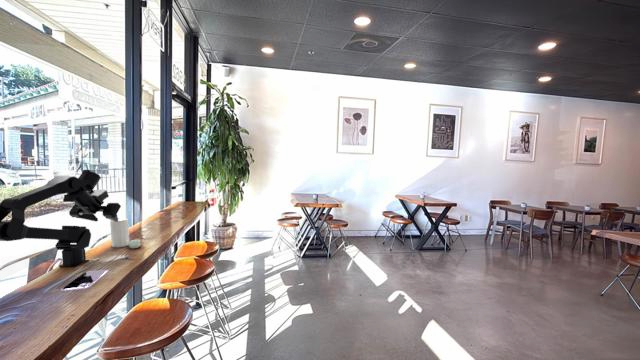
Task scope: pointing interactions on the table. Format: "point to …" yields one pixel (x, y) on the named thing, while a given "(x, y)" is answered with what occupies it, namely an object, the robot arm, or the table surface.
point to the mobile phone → (85, 280)
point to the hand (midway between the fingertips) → (107, 220)
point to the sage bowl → (134, 243)
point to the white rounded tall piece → (120, 232)
